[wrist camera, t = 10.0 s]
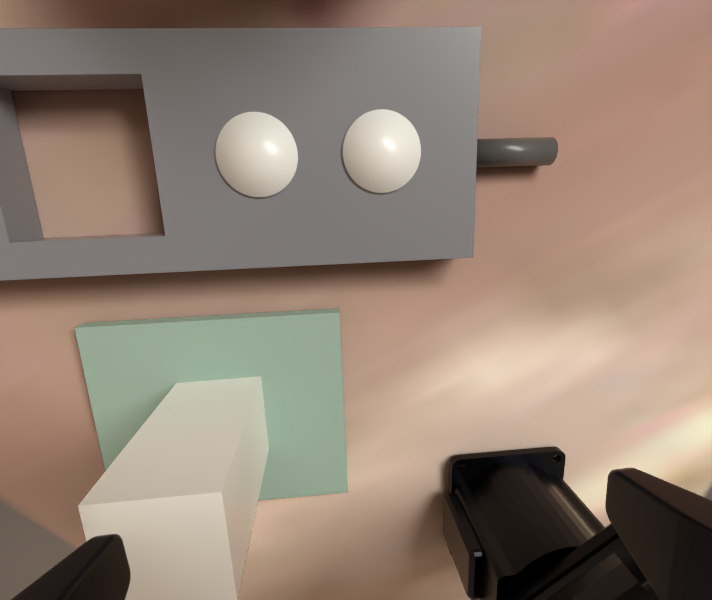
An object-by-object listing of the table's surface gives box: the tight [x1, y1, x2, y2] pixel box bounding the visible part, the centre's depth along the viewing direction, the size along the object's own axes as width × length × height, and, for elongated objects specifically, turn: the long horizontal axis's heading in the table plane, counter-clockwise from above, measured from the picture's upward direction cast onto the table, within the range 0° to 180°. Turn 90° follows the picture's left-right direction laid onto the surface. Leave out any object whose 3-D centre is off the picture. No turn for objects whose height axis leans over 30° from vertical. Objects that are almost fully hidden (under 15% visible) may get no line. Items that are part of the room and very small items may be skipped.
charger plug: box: [78, 377, 269, 600], centre depth 16 cm, size 4×4×8 cm
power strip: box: [0, 27, 558, 281], centre depth 16 cm, size 28×9×3 cm, turn 92°
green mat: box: [75, 308, 348, 501], centre depth 20 cm, size 12×10×1 cm
